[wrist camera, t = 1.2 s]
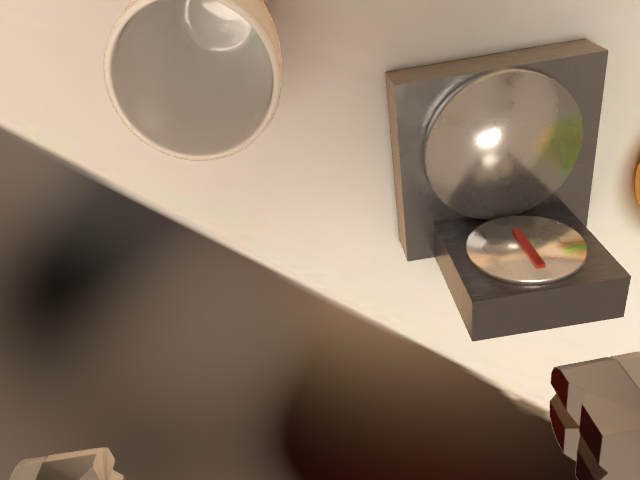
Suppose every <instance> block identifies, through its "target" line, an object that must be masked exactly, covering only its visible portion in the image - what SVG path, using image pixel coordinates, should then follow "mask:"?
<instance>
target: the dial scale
mask: <svg viewBox="0 0 640 480" xmlns="http://www.w3.org/2000/svg"><path fill="white" fill-rule="evenodd" d="M607 57H608V50H607V49H605V48H603V47H601V46H599V45H597V44H595V43H593V42H591V41H589V40H587V39H580V40H574V41H568V42H562V43H556V44H550V45H544V46H538V47H532V48H526V49H520V50H514V51H509V52H503V53H497V54H491V55H485V56H479V57H473V58H467V59H461V60H455V61H449V62H443V63H437V64H431V65H425V66H419V67H413V68H407V69H401V70H395V71H389V72H386V83H387V95H388V107H389V119H390V131H391V143H392V155H393V167H394V179H395V191H396V203H397V215H398V228H399V240H400V242H401V245H402V248H403V250H404V253H405V256H406V259H407V261H413V260H419V259H425V258H431V257H435V258H436V261H437V263H438V265H439V267H440V270H441V272H442V274H443V276H444V279H445V281H446V283H447V285H448V288H449V290H450V292H451V294H452V297H453V299H454V301H455V303H456V306H457V308H458V310H459V313H460V315H461V317H462V319H463V322H464V324H465V326H466V328H467V331H468V333H469V335H470V337H471V340H472V341H478V340H484V339H490V338H496V337H502V336H509V335H515V334H521V333H527V332H533V331H539V330H546V329H552V328H558V327H564V326H570V325H577V324H583V323H589V322H595V321H601V320H607V319H614V318H620V317H624V311H625V306H626V300H627V295H628V289H629V284H630V279H631V276H630V275H629V274H628V273H627V271H626V270H625V269H624V268H623V267H622V266H621V265H620V264H619V263H618V262H617V261H616V259H615V258H614V257H613V256H612V255H611V254H610V253H609V252H608V251H607V250H606V249H605V247H604V246H603V245H602V244H601V243H600V242H599V241H598V240H597V239H596V238H595V237H594V235H593V234H592V233H591V232H590V231H589V230H588V229H587V228H586V225H587V217H588V209H589V201H590V193H591V185H592V177H593V169H594V161H595V153H596V145H597V137H598V129H599V121H600V113H601V105H602V97H603V89H604V81H605V73H606V65H607Z"/></svg>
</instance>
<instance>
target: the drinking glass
mask: <svg viewBox="0 0 640 480" xmlns="http://www.w3.org/2000/svg"><path fill="white" fill-rule="evenodd" d="M104 77H105V83H106V88H107V91H108V94H109V97H110V100H111V102H112V104H113V106H114V108H115V110H116V112H117V114H118V115H119V117H120V118H121V119H122V121H123V122H124V123H125V125H126V126H127V127H128V128H129V129H130V130H131V131H132V132H133V133H134V134H135V135H136V136H137V137H138V138H139V139H141V140H142V141H143V142H145V143H146V144H147V145H149V146H151V147H152V148H154V149H156V150H158V151H160V152H162V153H165V154H167V155H170V156H173V157H176V158H180V159H185V160H193V161H207V160H215V159H220V158H224V157H227V156H230V155H233V154H235V153H237V152H239V151H241V150H243V149H244V148H246V147H247V146H249V145H250V144H252V143H253V142H254V141H255V140H256V139H257V138H258V137H259V136H260V135H261V134H262V133H263V132H264V130H265V129H266V128H267V126H268V125H269V123H270V122H271V120H272V118H273V116H274V114H275V111H276V108H277V105H278V102H279V98H280V91H281V81H282V54H281V47H280V41H279V37H278V33H277V30H276V27H275V24H274V21H273V19H272V17H271V15H270V13H269V10H268V9H267V7H266V5H265V0H133V1H132V2H131V3H130V5H129V6H128V7H127V8H126V10H125V11H124V12H123V14H122V15H121V16H120V18H119V19H118V20H117V22H116V23H115V25H114V27H113V29H112V30H111V33H110V35H109V38H108V41H107V44H106V48H105V54H104Z"/></svg>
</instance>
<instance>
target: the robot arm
mask: <svg viewBox="0 0 640 480" xmlns="http://www.w3.org/2000/svg"><path fill="white" fill-rule="evenodd" d="M551 385H552V386H553V388H554V390H555V391H556V394H555V396H554V397H553V398H552V399H551V400H550V418H551V423H552V428H553V431H554V434H555V436H556V439H557V442H558V443H559V445H560V447H561V449H562V451H563V453H564V454H565V455H567V456H568V457H570V458H572V459H573V460H575V461H576V474H575V475H576V477H577V479H578V480H640V352H633V353H628V354H622V355H617V356H612V357H609V358H608V357H605V358H600V359H595V360H590V361H584V362H579V363H574V364H568V365H563V366H558V367H554V369H553V371H552V373H551ZM114 462H115V459H114V457H113V456H112V454H111V452H110V450H109V449H108V448H96V449H89V450H83V451H76V452H69V453H63V454H56V455H50V456H46V457H40V458H33V459H26V460H22V461H21V462H20V463H19V464H18V465H17V466H16V467H15V469H14V471H13V473H12V475H11V477H10V479H9V480H125V478H124V476H123V475H121V474H119V473H117V472H115V471H113V470H112V469H113V465H114Z"/></svg>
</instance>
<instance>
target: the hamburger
mask: <svg viewBox="0 0 640 480" xmlns="http://www.w3.org/2000/svg"><path fill="white" fill-rule="evenodd" d="M635 193H636V197H637V201H638V203H639V205H640V162H639V164H638V167H637V171H636V177H635Z"/></svg>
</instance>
